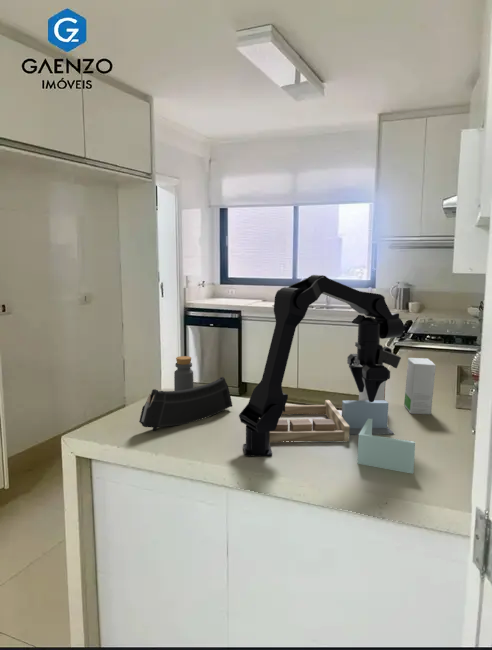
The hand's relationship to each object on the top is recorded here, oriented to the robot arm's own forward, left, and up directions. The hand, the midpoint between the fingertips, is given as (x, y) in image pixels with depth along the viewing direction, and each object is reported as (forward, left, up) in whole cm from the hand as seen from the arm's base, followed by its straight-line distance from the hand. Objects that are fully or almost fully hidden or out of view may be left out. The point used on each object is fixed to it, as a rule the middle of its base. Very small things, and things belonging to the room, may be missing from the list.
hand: (366, 396), depth 131 cm
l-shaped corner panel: (-20, +1, -10) cm, 22 cm away
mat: (0, 0, -9) cm, 9 cm away
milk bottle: (+17, -7, -9) cm, 21 cm away
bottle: (+22, +51, -9) cm, 56 cm away
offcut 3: (-6, +13, -9) cm, 16 cm away
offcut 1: (-6, +25, -9) cm, 27 cm away
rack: (+1, +19, -9) cm, 21 cm away
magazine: (+7, +48, -9) cm, 50 cm away
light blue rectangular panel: (0, 0, -8) cm, 8 cm away
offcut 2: (-6, +19, -9) cm, 21 cm away
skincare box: (+15, -21, -9) cm, 28 cm away
